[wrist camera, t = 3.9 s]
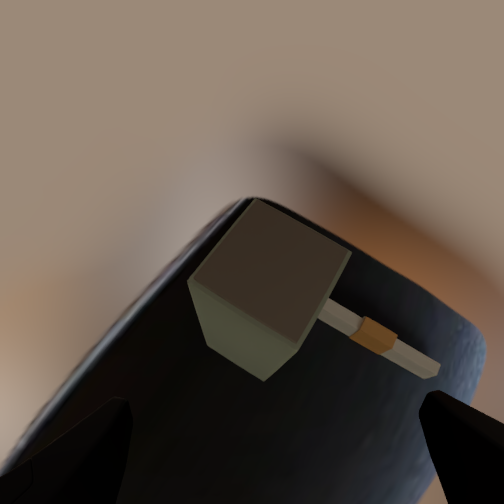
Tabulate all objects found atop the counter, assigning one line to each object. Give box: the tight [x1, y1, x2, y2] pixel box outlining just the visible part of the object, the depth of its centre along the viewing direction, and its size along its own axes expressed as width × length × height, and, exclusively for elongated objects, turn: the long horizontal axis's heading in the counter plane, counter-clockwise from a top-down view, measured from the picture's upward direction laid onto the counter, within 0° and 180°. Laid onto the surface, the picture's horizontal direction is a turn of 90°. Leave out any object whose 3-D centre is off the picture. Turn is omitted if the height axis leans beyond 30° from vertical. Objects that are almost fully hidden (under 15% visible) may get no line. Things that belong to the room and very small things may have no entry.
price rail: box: [317, 298, 441, 379], centre depth 23 cm, size 17×2×2 cm, turn 57°
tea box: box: [187, 198, 352, 381], centre depth 18 cm, size 5×5×12 cm
